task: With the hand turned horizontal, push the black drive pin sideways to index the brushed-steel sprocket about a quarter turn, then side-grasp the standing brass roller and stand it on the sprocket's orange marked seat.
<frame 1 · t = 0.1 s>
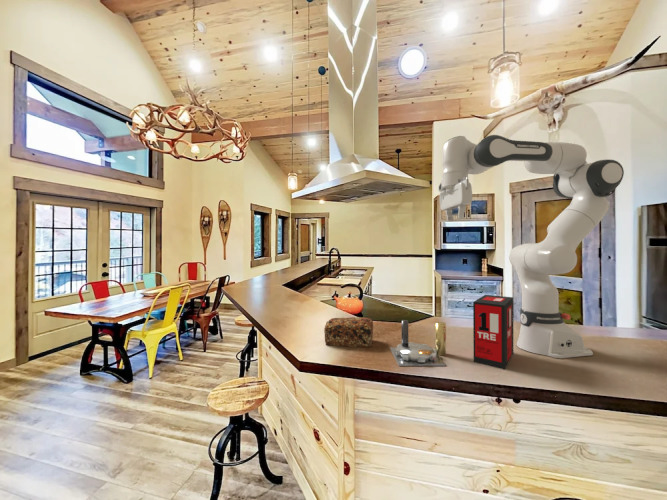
hand: (455, 219, 104), 48 cm above the table, tool pointing down, fingers open, 8 cm apart
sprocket: (415, 338, 98), point 6 cm above the table, hinge at 0.0°
roller: (440, 353, 100), on the table
bread: (349, 343, 113), on the table
cleaning product box: (494, 358, 96), on the table
base plate: (415, 356, 98), on the table
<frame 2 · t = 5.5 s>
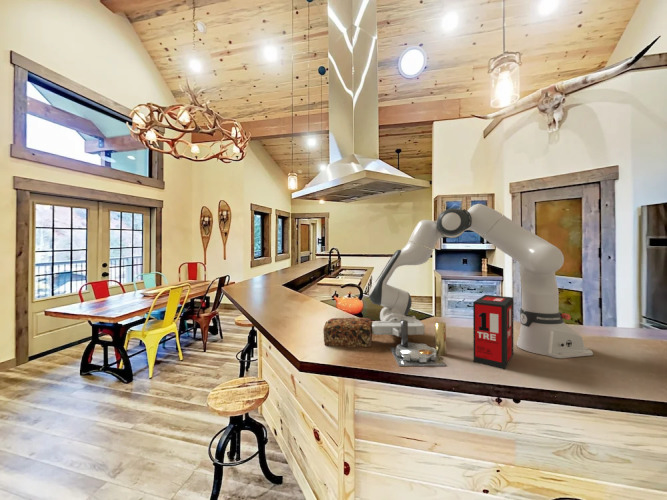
hand: (401, 334, 102), 6 cm above the table, tool horizontal, fingers closed
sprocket: (415, 338, 98), point 6 cm above the table, hinge at 4.3°, touching gripper
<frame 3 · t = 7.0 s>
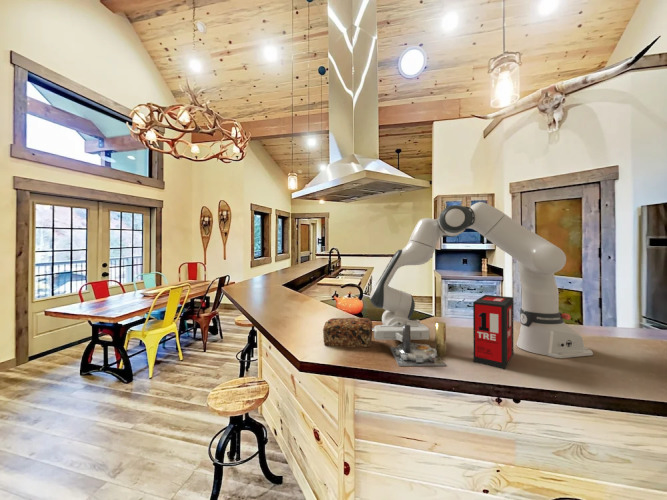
hand: (405, 339, 96), 6 cm above the table, tool horizontal, fingers closed, pressing on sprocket
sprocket: (415, 338, 98), point 6 cm above the table, hinge at 85.1°, touching gripper
everything else where it was.
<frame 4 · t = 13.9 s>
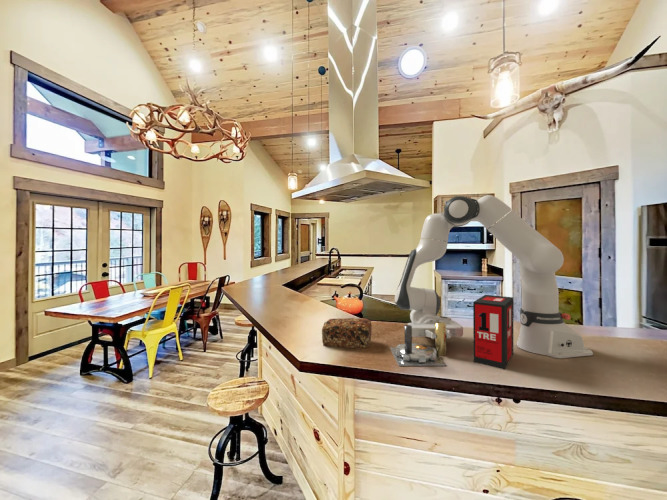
hand: (441, 336, 99), 7 cm above the table, tool horizontal, fingers closed on roller, 4 cm apart
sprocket: (415, 338, 98), point 6 cm above the table, hinge at 92.5°
roller: (440, 353, 100), on the table, touching gripper
when the fingers open (10 cm above the table, at t = 17.7 s): roller stays where it is, resting on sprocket.
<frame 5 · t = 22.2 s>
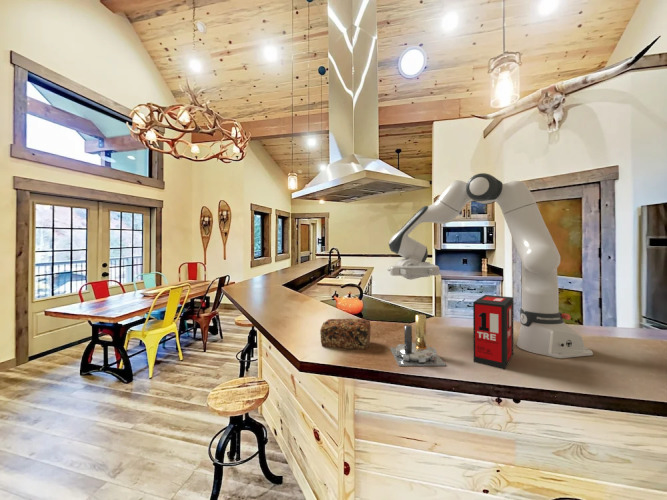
hand: (419, 272, 112), 28 cm above the table, tool horizontal, fingers open, 8 cm apart
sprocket: (415, 338, 98), point 6 cm above the table, hinge at 92.1°, touching roller
roller: (420, 346, 100), point 3 cm above the table, touching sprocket
at the end: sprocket at +92° (first picture: +0°); roller inside the target area on the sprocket (3.5 cm from its centre), point 2.7 cm above the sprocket's base; roller tilted 0° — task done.
